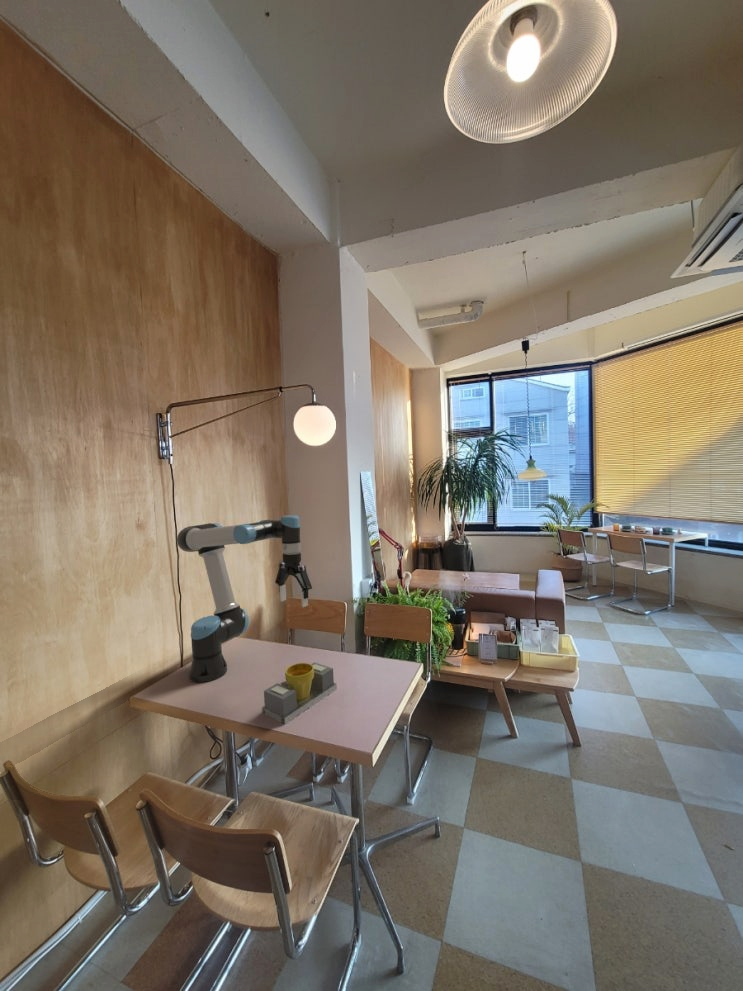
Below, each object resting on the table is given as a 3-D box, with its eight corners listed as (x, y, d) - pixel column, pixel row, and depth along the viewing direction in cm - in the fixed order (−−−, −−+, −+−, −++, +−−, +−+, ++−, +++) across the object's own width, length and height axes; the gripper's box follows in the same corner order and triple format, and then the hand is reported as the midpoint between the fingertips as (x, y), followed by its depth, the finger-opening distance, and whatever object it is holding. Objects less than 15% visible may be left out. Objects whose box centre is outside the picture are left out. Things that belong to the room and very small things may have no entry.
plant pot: (309, 703, 138) (307, 676, 138) (281, 701, 140) (280, 675, 140) (318, 688, 148) (317, 663, 148) (293, 686, 150) (291, 661, 150)
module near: (264, 707, 137) (263, 689, 137) (278, 699, 142) (277, 682, 142) (283, 716, 131) (282, 697, 131) (297, 707, 136) (296, 689, 136)
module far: (304, 683, 152) (303, 667, 152) (315, 677, 157) (314, 661, 157) (323, 690, 146) (322, 674, 146) (333, 683, 151) (332, 667, 151)
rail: (262, 712, 137) (261, 707, 137) (314, 680, 158) (314, 675, 158) (285, 724, 130) (284, 718, 130) (336, 688, 151) (336, 683, 151)
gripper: (265, 551, 166) (267, 600, 167) (305, 557, 151) (307, 611, 152) (279, 548, 172) (281, 596, 173) (319, 553, 157) (321, 606, 158)
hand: (293, 603), depth 163 cm, fingers open, 13 cm apart
